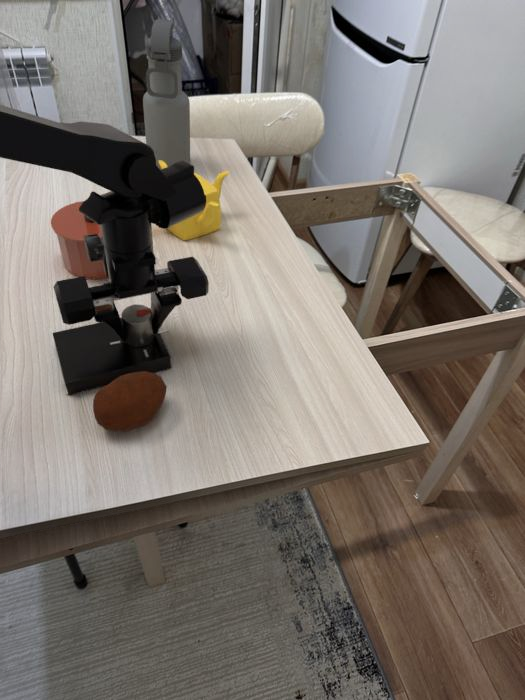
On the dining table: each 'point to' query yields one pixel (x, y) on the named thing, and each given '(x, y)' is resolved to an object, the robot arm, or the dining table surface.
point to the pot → (80, 260)
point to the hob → (104, 356)
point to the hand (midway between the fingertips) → (139, 335)
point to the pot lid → (73, 224)
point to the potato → (129, 401)
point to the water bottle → (166, 97)
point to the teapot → (208, 217)
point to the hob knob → (138, 325)
